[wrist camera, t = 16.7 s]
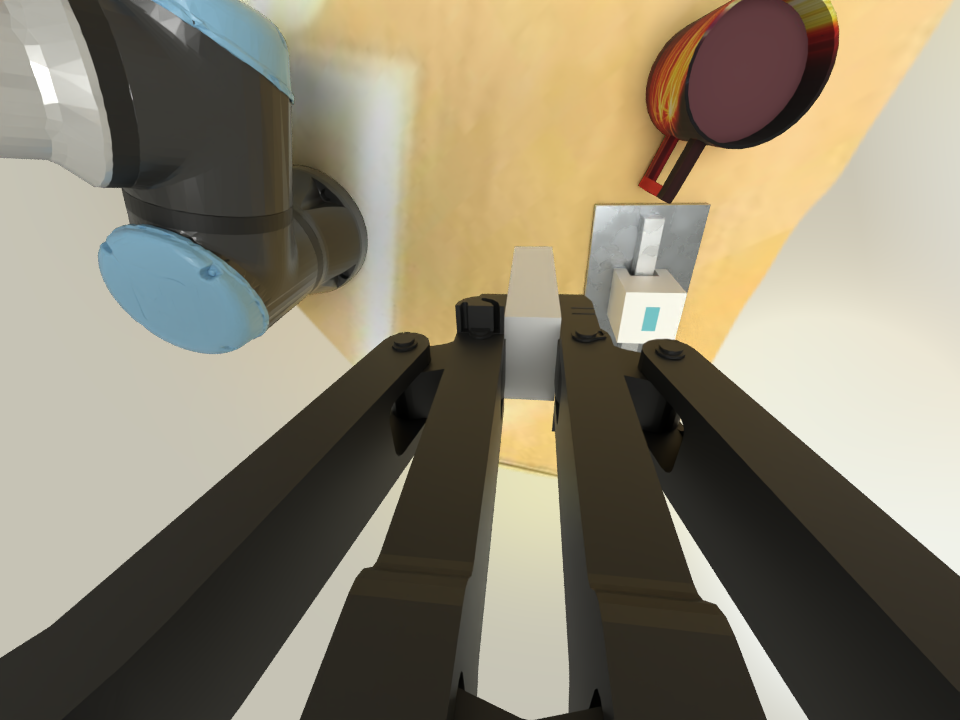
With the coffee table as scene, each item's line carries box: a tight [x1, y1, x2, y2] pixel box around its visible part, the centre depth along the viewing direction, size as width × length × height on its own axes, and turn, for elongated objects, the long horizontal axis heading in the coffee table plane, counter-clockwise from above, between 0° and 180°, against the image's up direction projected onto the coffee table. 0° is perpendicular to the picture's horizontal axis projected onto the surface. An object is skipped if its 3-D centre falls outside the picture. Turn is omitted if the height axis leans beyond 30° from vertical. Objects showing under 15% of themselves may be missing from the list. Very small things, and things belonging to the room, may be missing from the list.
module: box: [607, 268, 687, 344], centre depth 45 cm, size 6×6×8 cm
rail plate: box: [584, 203, 710, 352], centre depth 48 cm, size 12×20×3 cm, turn 1°
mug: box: [638, 0, 839, 204], centre depth 34 cm, size 10×14×12 cm
